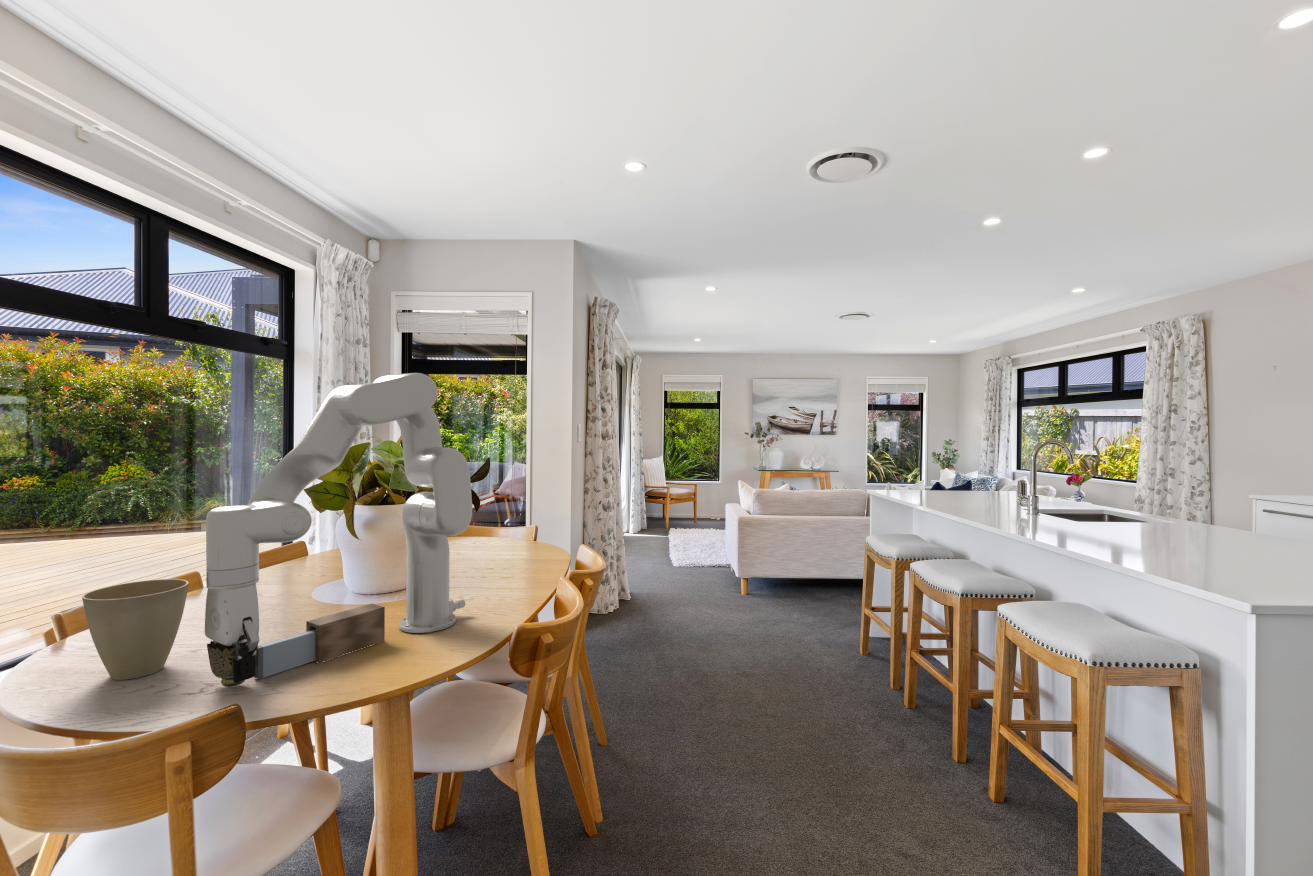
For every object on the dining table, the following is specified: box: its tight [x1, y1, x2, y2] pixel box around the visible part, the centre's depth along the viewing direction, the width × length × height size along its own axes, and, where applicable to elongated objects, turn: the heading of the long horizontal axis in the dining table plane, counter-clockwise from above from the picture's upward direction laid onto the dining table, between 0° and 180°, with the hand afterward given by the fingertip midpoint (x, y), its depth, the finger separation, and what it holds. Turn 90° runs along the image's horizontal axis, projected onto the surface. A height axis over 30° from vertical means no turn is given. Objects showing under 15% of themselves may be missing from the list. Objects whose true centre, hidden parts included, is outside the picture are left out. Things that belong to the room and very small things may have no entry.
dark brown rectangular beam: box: [305, 603, 386, 664], centre depth 118 cm, size 14×5×8 cm, turn 149°
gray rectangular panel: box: [253, 629, 316, 680], centre depth 110 cm, size 14×2×6 cm, turn 149°
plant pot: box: [81, 578, 190, 681], centre depth 107 cm, size 15×15×16 cm
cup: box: [206, 634, 260, 688], centre depth 101 cm, size 8×7×8 cm
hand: (234, 674), depth 101 cm, fingers closed on cup, 6 cm apart
